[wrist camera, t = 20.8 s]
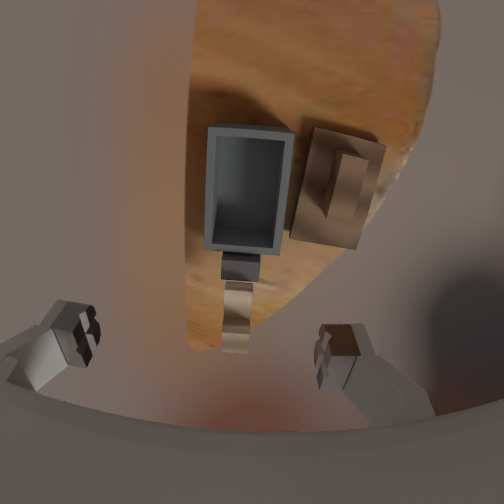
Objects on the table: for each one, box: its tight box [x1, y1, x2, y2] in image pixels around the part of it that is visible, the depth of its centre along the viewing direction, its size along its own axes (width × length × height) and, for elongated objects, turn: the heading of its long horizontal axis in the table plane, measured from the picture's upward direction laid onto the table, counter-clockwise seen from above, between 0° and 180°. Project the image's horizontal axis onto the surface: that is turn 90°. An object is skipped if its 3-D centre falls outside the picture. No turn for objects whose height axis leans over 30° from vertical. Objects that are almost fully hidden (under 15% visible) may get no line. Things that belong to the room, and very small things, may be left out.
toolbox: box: [204, 123, 295, 282], centre depth 42 cm, size 20×10×8 cm, turn 175°
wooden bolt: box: [221, 281, 253, 353], centre depth 42 cm, size 8×4×5 cm, turn 175°
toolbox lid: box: [289, 126, 386, 250], centre depth 42 cm, size 17×11×6 cm, turn 170°
